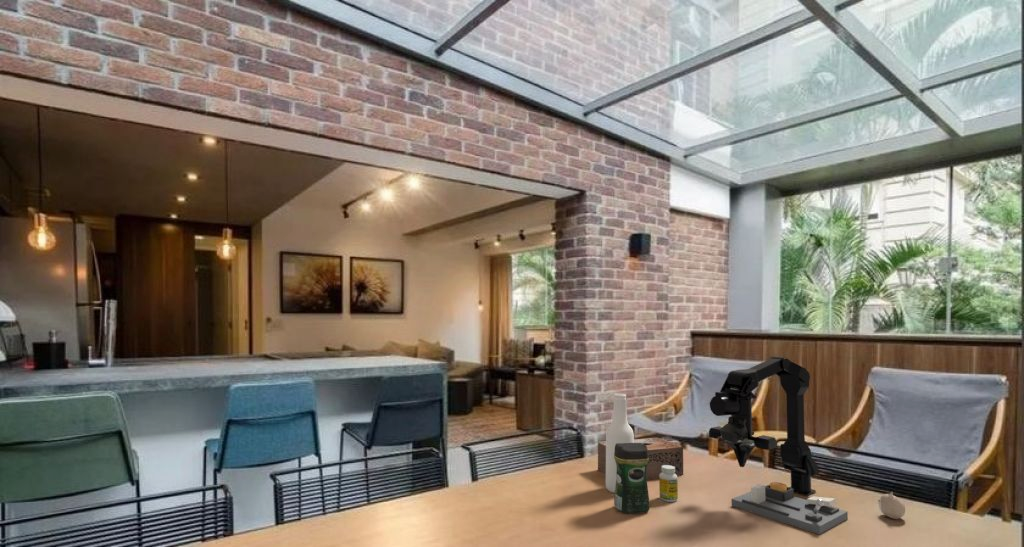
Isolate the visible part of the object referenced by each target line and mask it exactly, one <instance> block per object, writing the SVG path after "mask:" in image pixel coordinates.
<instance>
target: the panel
mask: <svg viewBox="0 0 1024 547" xmlns="http://www.w3.org/2000/svg"><path fill="white" fill-rule="evenodd" d="M789 487H790V486H787V491H784V492H781V491H778V490H774V489H771V488H770V484H767V485H765V501H764V502H762V503H759V504H757V503H754V502H751V491H749V492H746V493H744V494H741V495H738V496H735V497H733V498H731V506H732V507H734V508H737V509H740V510H743V511H746V512H749V513H752V514H755V515H759V516H762V517H764V518H766V519H767V518H768V519H771V520H774V521H777V522H780V523H784V524H787V525H789V526H792V527H795V528H798V529H801V530H804V531H808V532H811V533H812V534H813V533H814V534H816V535H821V534H823V533H825V532H827V531H828V530H831V529H832V528H834V527H836V526H838V525H839V524H842V523H843V522H845V521H846V520H848V518H849V517H848V511H847V510H844V509H840V507H839V508H838V507H836V506H833V505H832V506H821V507H820V509H819V511H818V512H817V514H814V513H813V510H814V508H815V506H816V505H815V504H807V499H804V498H801V497H797V496H795V492H794V489H793V488H789Z"/></svg>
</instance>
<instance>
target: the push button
mask: <svg viewBox="0 0 1024 547" xmlns="http://www.w3.org/2000/svg"><path fill="white" fill-rule="evenodd" d="M769 485H770V488H771V489H774V490H778V491H781V492H784V491H787V487H788V485H787V484H786V483H783V482H777V481H772V482H770V484H769Z"/></svg>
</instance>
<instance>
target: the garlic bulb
mask: <svg viewBox="0 0 1024 547" xmlns="http://www.w3.org/2000/svg"><path fill="white" fill-rule="evenodd" d="M877 503H878V507H879V510H880V512H881V513H882V514H883V515H884V516H886V517H888V518H891V519H892V520H899V519H902V518H903V517H904V516H905V514H906V506H905V503H904V502H903V501H902V500H901V499H899V498H898V497H897V496H895V495H894V493H893V491H890V492H888V493H885V494H883V495H881V496H880V499H878V502H877Z"/></svg>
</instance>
